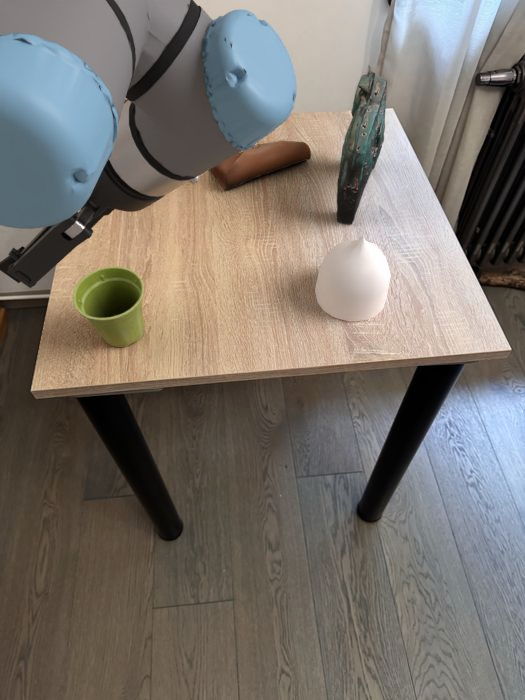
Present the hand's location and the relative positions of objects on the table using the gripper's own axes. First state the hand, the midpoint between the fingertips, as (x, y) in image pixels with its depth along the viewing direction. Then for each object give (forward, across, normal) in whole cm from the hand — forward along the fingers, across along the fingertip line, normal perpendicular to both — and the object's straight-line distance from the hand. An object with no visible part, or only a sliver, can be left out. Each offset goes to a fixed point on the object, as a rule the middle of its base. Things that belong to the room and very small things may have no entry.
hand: (42, 228), depth 59 cm
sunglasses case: (+7, +43, -25) cm, 50 cm away
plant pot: (+9, 0, -18) cm, 20 cm away
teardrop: (-13, +18, -38) cm, 44 cm away
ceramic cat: (-8, +42, -37) cm, 56 cm away
